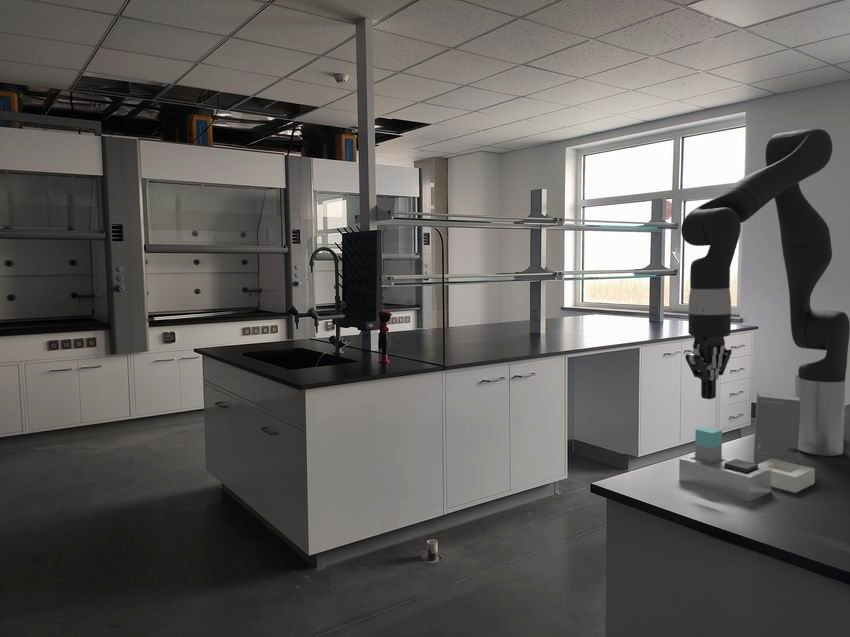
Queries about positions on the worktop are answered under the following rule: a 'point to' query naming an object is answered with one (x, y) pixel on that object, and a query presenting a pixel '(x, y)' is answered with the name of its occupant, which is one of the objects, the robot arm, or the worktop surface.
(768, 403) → the skincare box
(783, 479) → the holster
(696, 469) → the metal switch box
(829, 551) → the worktop surface
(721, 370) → the robot arm
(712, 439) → the plug
